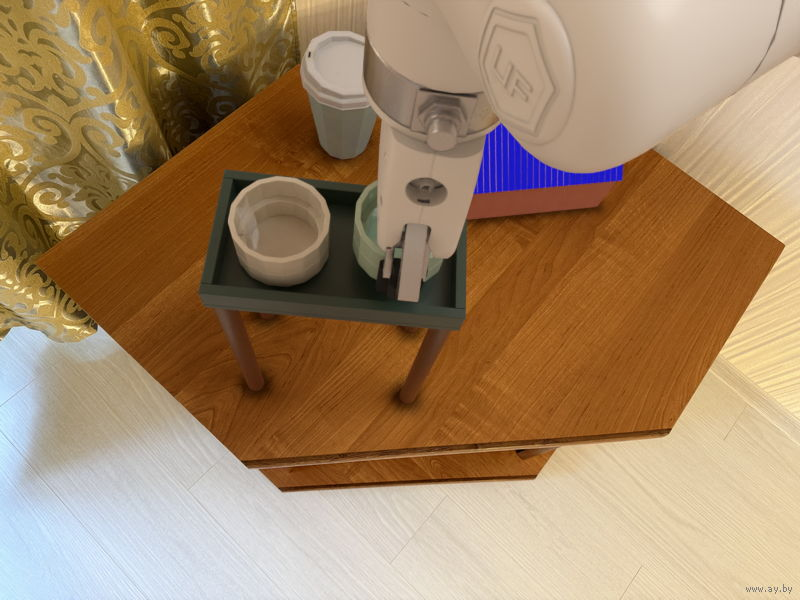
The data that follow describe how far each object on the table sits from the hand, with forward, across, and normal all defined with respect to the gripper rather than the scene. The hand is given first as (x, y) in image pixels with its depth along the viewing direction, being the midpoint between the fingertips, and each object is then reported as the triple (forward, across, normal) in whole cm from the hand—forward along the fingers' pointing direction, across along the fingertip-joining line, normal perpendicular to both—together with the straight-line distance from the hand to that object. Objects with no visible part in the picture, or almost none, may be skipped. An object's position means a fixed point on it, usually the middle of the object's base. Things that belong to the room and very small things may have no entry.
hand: (400, 242), depth 44 cm
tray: (+27, 0, +4) cm, 28 cm away
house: (+28, +28, -18) cm, 43 cm away
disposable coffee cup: (+28, +30, +6) cm, 41 cm away
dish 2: (+1, 0, 0) cm, 1 cm away
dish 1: (+3, 0, +9) cm, 9 cm away
